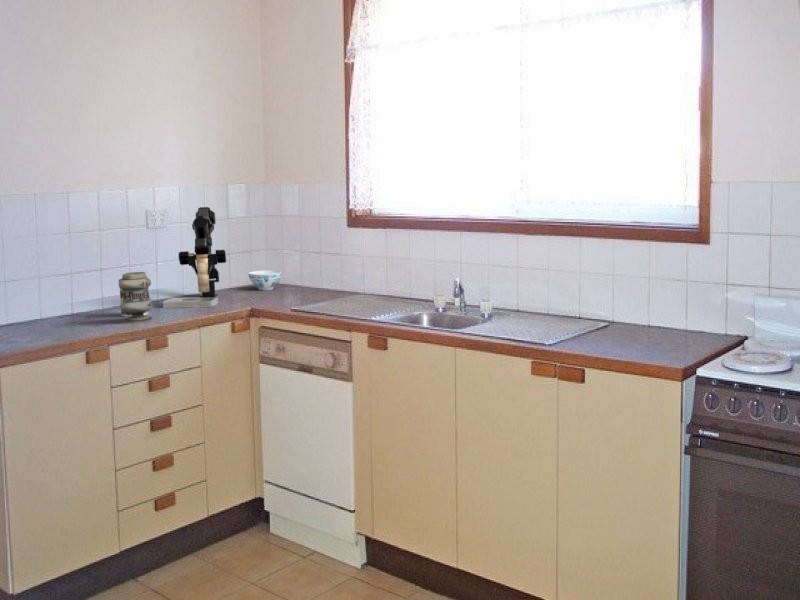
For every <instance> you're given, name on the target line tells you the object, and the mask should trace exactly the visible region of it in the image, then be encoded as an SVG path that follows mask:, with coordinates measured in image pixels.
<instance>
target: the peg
mask: <svg viewBox="0 0 800 600" xmlns="http://www.w3.org/2000/svg"><path fill="white" fill-rule="evenodd" d="M207 258H208V257H207V254H199V255H196V260H195V261H196V267H197V274H196V277H197V276H198V279H197V288H198V289H197V290H198V293H202V292H209V291H210V290H209V280H210V279H209V274H208V259H207Z"/></svg>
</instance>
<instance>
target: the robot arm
mask: <svg viewBox="0 0 800 600" xmlns="http://www.w3.org/2000/svg"><path fill="white" fill-rule="evenodd" d="M216 223H217V222H216V214H215V212H214V211H213V210H212V209H211V207H208V206H203V207H198V208H197V211H196V212H195V218H194V220H193V221H192V225H191V227H192V228H191V229H192V230H193V232H194V235H195V239H194V252H191V253H190V252H189V251H179V252H178V261H179V265H181V266H186V265H188V266H189V267H192V269H193V270H194V273H195V274H196V277H197V278H196V279H197V280H198V276H197V261H196V255H199V254H207V257H208V258H207V259H208V274H209V290H210V291H209V292H201V294H200V295H199V298H202V297H217V296H218V295H219V294H218V293H216V284H215V283H219V282H220V274H219V273H220V272H219V270H218V269H217V267H216V265H218V264H226V263H227V255H226V254H227V253H226V250H225V249H215V253H212V247H213V237H212V233H213V231H214V230H215V225H216Z"/></svg>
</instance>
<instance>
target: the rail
mask: <svg viewBox="0 0 800 600" xmlns="http://www.w3.org/2000/svg"><path fill="white" fill-rule="evenodd" d="M217 303H218V304H219V297H218V296H214V297H170V298H168V299H166V300H164V301H162V309H176V308H177V309H178V308H181V309H182V308H212V307H214V306H216V305H218V304H217Z"/></svg>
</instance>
